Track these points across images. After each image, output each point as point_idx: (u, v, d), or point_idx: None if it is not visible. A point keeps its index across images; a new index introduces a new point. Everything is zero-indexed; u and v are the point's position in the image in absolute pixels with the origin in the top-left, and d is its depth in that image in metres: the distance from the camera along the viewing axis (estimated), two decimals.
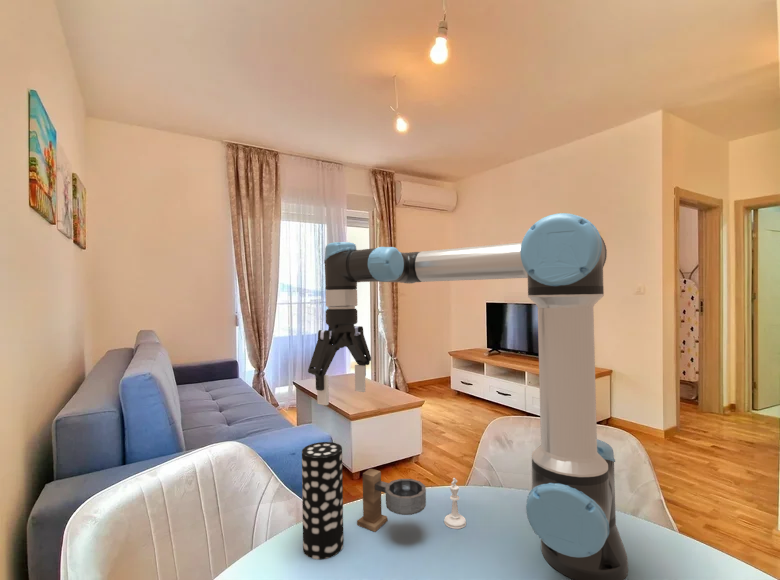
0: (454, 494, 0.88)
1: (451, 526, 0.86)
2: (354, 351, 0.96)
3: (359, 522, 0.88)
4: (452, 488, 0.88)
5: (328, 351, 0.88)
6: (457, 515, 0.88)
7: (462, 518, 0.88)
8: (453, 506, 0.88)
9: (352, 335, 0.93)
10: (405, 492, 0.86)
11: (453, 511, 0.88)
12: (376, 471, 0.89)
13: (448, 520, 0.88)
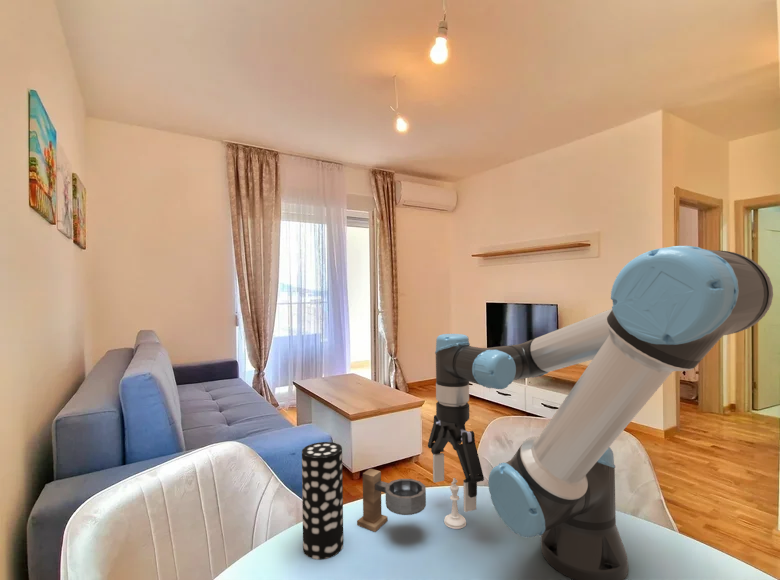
0: (454, 494, 0.88)
1: (451, 526, 0.86)
2: None
3: (359, 522, 0.88)
4: (452, 488, 0.88)
5: None
6: (457, 515, 0.88)
7: (462, 518, 0.88)
8: (453, 506, 0.88)
9: (449, 434, 0.87)
10: (405, 492, 0.86)
11: (453, 511, 0.88)
12: (376, 471, 0.89)
13: (448, 520, 0.88)
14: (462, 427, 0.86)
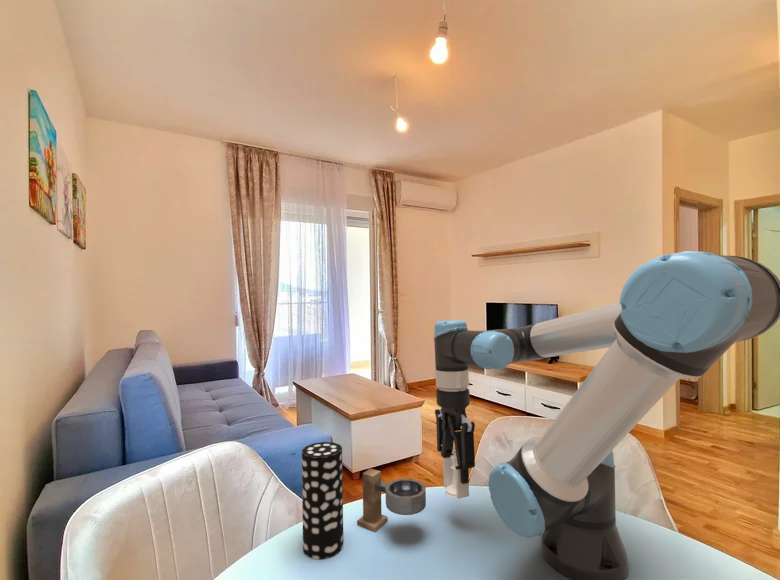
0: (455, 463, 0.88)
1: (452, 495, 0.86)
2: None
3: (359, 522, 0.88)
4: (453, 457, 0.88)
5: None
6: None
7: None
8: (454, 476, 0.88)
9: (449, 420, 0.87)
10: (405, 492, 0.86)
11: (454, 481, 0.88)
12: (376, 471, 0.89)
13: (449, 490, 0.87)
14: (463, 412, 0.85)
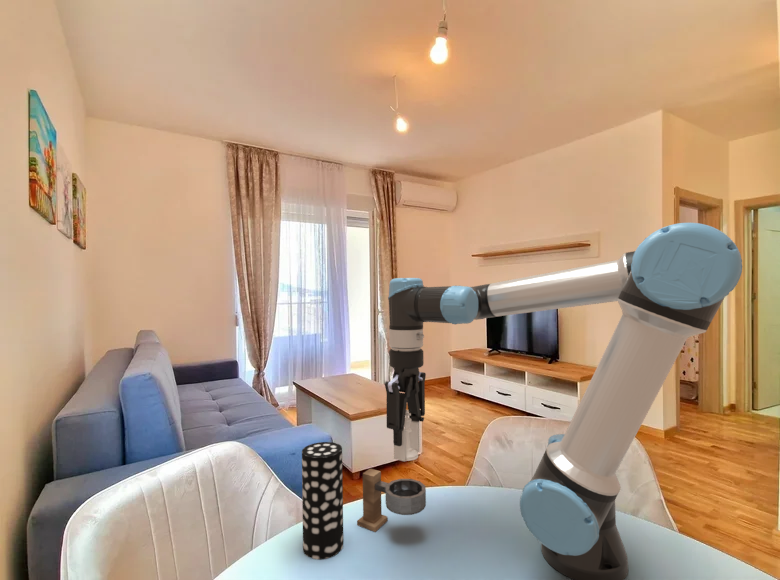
0: (404, 425, 0.85)
1: None
2: None
3: (359, 522, 0.88)
4: None
5: None
6: None
7: (410, 453, 0.83)
8: None
9: None
10: (405, 492, 0.86)
11: None
12: (376, 471, 0.89)
13: None
14: (398, 372, 0.82)
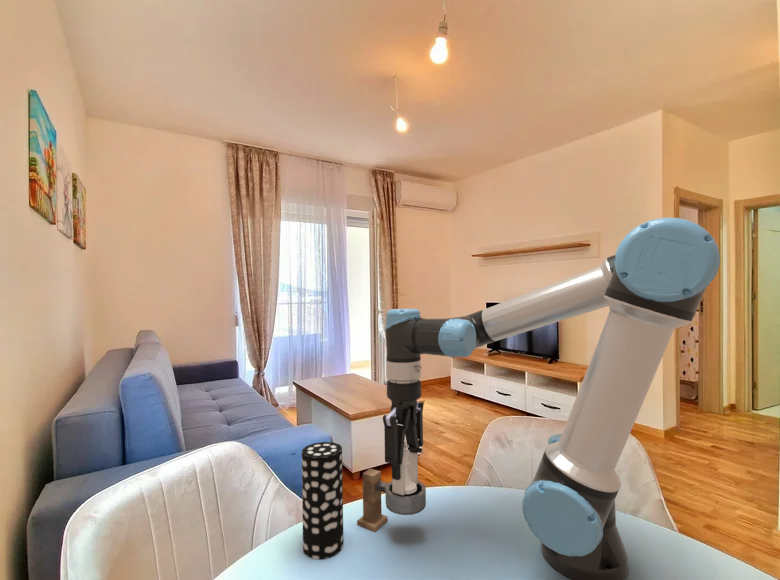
0: None
1: None
2: None
3: (359, 522, 0.88)
4: None
5: None
6: None
7: (408, 486, 0.83)
8: None
9: None
10: None
11: None
12: (376, 471, 0.89)
13: None
14: (395, 405, 0.81)
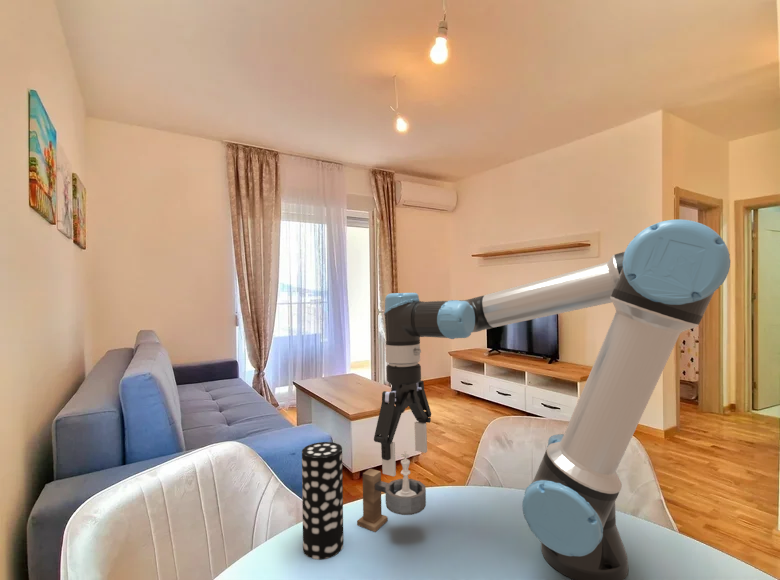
0: (403, 468, 0.84)
1: None
2: None
3: (359, 522, 0.88)
4: (401, 461, 0.84)
5: None
6: (404, 491, 0.83)
7: None
8: (403, 480, 0.84)
9: None
10: None
11: None
12: (376, 471, 0.89)
13: (398, 492, 0.85)
14: (395, 388, 0.81)
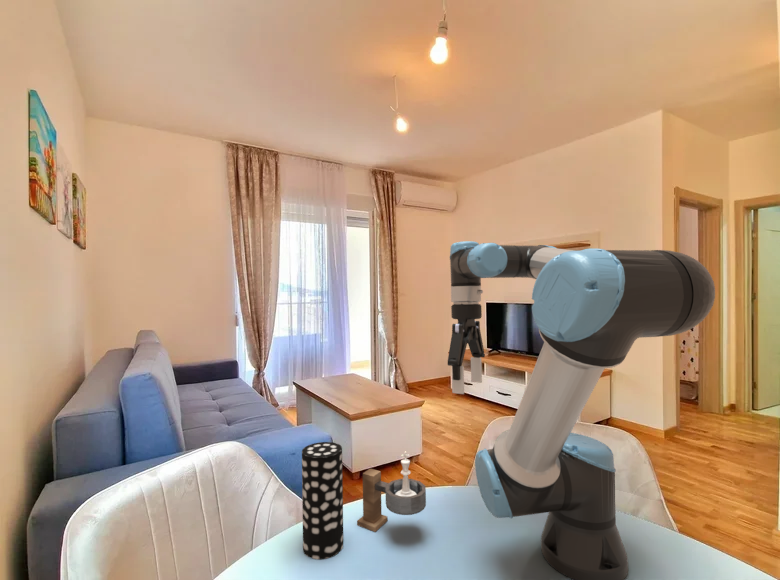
0: (403, 468, 0.84)
1: None
2: None
3: (359, 522, 0.88)
4: (401, 461, 0.84)
5: None
6: (404, 491, 0.83)
7: None
8: (403, 480, 0.84)
9: None
10: None
11: None
12: (376, 471, 0.89)
13: (398, 492, 0.85)
14: (462, 322, 0.95)
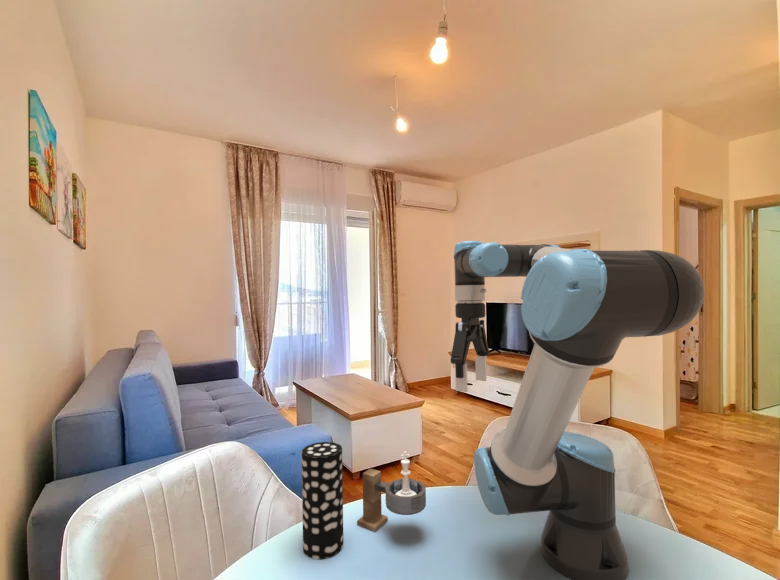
0: (403, 467, 0.84)
1: None
2: None
3: (359, 522, 0.88)
4: (401, 460, 0.84)
5: None
6: (404, 490, 0.83)
7: None
8: (403, 480, 0.84)
9: None
10: None
11: None
12: (376, 471, 0.89)
13: (398, 492, 0.85)
14: (465, 321, 0.96)
